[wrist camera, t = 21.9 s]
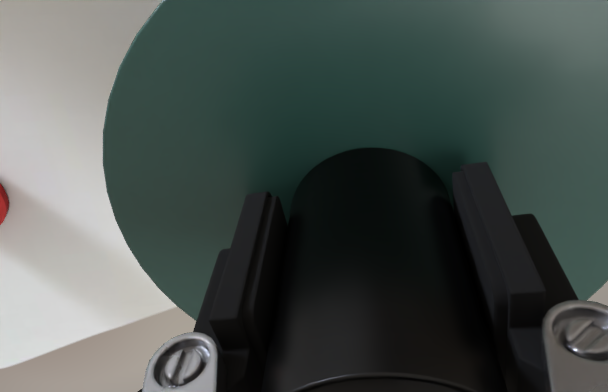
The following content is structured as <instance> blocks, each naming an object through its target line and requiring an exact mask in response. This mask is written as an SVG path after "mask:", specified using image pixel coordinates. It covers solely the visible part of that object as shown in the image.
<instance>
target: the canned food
mask: <svg viewBox="0 0 608 392" xmlns="http://www.w3.org/2000/svg"><path fill="white" fill-rule="evenodd" d="M8 207H9V202H8V197H7V194H6V192H5V190H4V188H3V187H2V185H1V184H0V225H1V224H2V222H3V221H4V219H5V217H6V214H7V211H8Z"/></svg>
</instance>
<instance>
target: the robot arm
mask: <svg viewBox="0 0 608 392" xmlns="http://www.w3.org/2000/svg"><path fill="white" fill-rule="evenodd" d="M452 183H453V205H454V214H455V218H456V221H457V224H458V228H459V231H460V234H461V238H462V241H463V244H464V248H465V251H466V254H467V257H468V261H469V264H470V267H471V271H472V274H473V277H474V281H475V284H476V287H477V291H478V294H479V297H480V301H481V304H482V307H483V311H484V314H485V317H486V320H487V324H488V327H489V330H490V334H491V337H492V340H493V344H494V347H495V350H496V354H497V357H498V360H499V364H500V367H501V370H502V373H503V377H504V380H505V383H506V387H507V390H508V392H608V306H606V305H603V304H600V303H598V302H592V301H586V300H579V299H578V297H577V295H576V293H575V291H574V290H573V288H572V286H571V284H570V282H569V280H568V278H567V276H566V274H565V272H564V270H563V269H562V267H561V265H560V263H559V261H558V259H557V257H556V255H555V253H554V251H553V249H552V248H551V246H550V244H549V242H548V240H547V238H546V236H545V234H544V232H543V230H542V228H541V227H540V225H539V223H538V221H537V219H536V218H535V216H534V215H533V214H531V213H530V214H521V215H511V213H510V211H509V208H508V206H507V204H506V202H505V200H504V198H503V195H502V193H501V191H500V189H499V187H498V185H497V182H496V180H495V178H494V176H493V174H492V171H491V169H490V167H489V165H488V163H487V162H480V163H473V164H465V165H461V171H460V172H453V173H452ZM287 229H288V225H287V221H286V218H285V214H284V211H283V208H282V204H281V201H280V198H279V197H278V196H274V197H272V195H271V193H270V192H269V191H267V192H260V193H253V194H247V195H246V197H245V200H244V204H243V207H242V210H241V214H240V217H239V220H238V224H237V227H236V230H235V234H234V237H233V240H232V244H231V247H230V248H228V249H222V250H221V251H220V252H219V254H218V257H217V260H216V263H215V266H214V269H213V272H212V275H211V278H210V281H209V285H208V288H207V291H206V294H205V297H204V300H203V303H202V306H201V309H200V312H199V315H198V318H197V321H196V324H195V328H194V331H193V332H191V333H184V334H181V335H178V336H176V337H174V338H172V339H170V340H169V341H167V342H166V343H164V344H163V345H162V346H161V347H160V348H159V349H158V350H157V351H156V352H155V353H154V355H153V356H152V358H151V359H150V360H149V363H148V366H147V369H146V373H145V378H144V383H143V388H142V389H141V390H139V391H138V392H261V390H262V384H263V377H264V371H265V365H266V359H267V353H268V346H269V340H270V334H271V328H272V322H273V316H274V309H275V303H276V297H277V291H278V285H279V278H280V272H281V266H282V260H283V254H284V247H285V241H286V235H287Z"/></svg>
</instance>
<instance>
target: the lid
mask: <svg viewBox="0 0 608 392" xmlns="http://www.w3.org/2000/svg"><path fill="white" fill-rule="evenodd" d="M480 162H487V163H488V165H489V167H490V169H491V171H492V174H493V176H494V178H495V180H496V182H497V185H498V187H499V189H500V191H501V193H502V195H503V198H504V200H505V202H506V204H507V206H508V208H509V211H510V213H511V215H521V214H530V213H531V214H533V215H534V216H535V218H536V219H537V221H538V223H539V225H540V227H541V228H542V230H543V232H544V234H545V236H546V238H547V240H548V242H549V244H550V246H551V248H552V249H553V251H554V253H555V255H556V257H557V259H558V261H559V263H560V265H561V267H562V269H563V270H564V272H565V274H566V276H567V278H568V280H569V282H570V284H571V286H572V288H573V290H574V291H575V293H576V295H577V297H578V299H579V300H586V301H587V300H588V299H589V298H590V297H591V296H592V295H593V294H594V293H596V292H597V291H598V290H599V289H600V288H601V287H602V286H603V285H604V284H605V283H606V282H607V281H608V0H163V1H162V2H161V3H160V4H159V5H158V7H157V8H156V9H155V11H154V12H153V13H152V15H151V16H150V17H149V19H148V20H147V21H146V22H145V24H144V25H143V26H142V28H141V29H140V30H139V32H138V33H137V34H136V36H135V38H134V40H133V42H132V44H131V46H130V48H129V50H128V51H127V53H126V55H125V57H124V59H123V61H122V63H121V65H120V67H119V69H118V72H117V75H116V78H115V81H114V84H113V87H112V90H111V93H110V96H109V99H108V105H107V111H106V117H105V123H104V129H103V167H104V174H105V180H106V187H107V193H108V196H109V200H110V203H111V206H112V209H113V213H114V216H115V219H116V222H117V224H118V226H119V228H120V230H121V232H122V234H123V237H124V239H125V241H126V243H127V245H128V247H129V248H130V250H131V251H132V253H133V255H134V256H135V258H136V259H137V261H138V262H139V264H140V266H141V267H142V268H143V270H144V271H145V272H146V273H147V275H148V276H149V277H150V278H151V279H152V281H153V282H154V283H155V284H156V286H157V287H158V288H159V289H160V290H161V291H162V292H163V293H164V294H165V295H166V296H167V297H168V298H169V299H170V300H171V301H172V302H173V303H175V304H176V305H177V306H178V307H179V308H180V309H182V310H183V311H184V312H185V313H187V314H188V315H189V316H190V317H192V318H193V319H194V320H196V321H197V318H198V315H199V312H200V309H201V306H202V303H203V300H204V297H205V294H206V291H207V288H208V285H209V281H210V278H211V275H212V272H213V269H214V266H215V263H216V260H217V257H218V254H219V252H220V251H221V250H222V249H228V248H230V247H231V244H232V240H233V237H234V234H235V230H236V227H237V224H238V220H239V217H240V214H241V210H242V207H243V204H244V200H245V197H246V195H247V194H253V193H260V192H267V191H269V192H270V193H271V195H272V197H274V196H278V197H279V198H280V201H281V204H282V208H283V211H284V214H285V218H286V221H287V225H288V229H287V235H286V241H285V247H284V254H283V260H282V266H281V272H280V278H279V285H278V291H277V297H276V303H275V309H274V316H273V322H272V328H271V334H270V340H269V346H268V353H267V359H266V365H265V371H264V377H263V384H262V390H261V392H508V390H507V387H506V383H505V380H504V377H503V373H502V370H501V367H500V364H499V360H498V357H497V354H496V350H495V347H494V344H493V340H492V337H491V334H490V330H489V327H488V324H487V320H486V317H485V314H484V311H483V307H482V304H481V301H480V297H479V294H478V291H477V287H476V284H475V281H474V277H473V274H472V271H471V267H470V264H469V261H468V257H467V254H466V251H465V248H464V244H463V241H462V238H461V234H460V231H459V228H458V224H457V221H456V218H455V214H454V205H453V183H452V173H453V172H460V171H461V165H465V164H473V163H480Z"/></svg>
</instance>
